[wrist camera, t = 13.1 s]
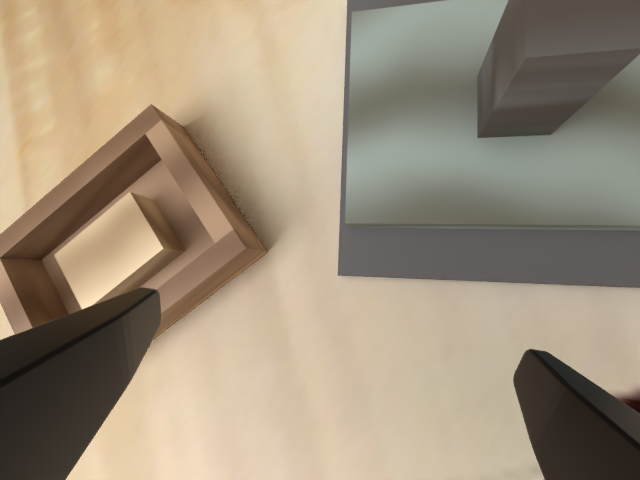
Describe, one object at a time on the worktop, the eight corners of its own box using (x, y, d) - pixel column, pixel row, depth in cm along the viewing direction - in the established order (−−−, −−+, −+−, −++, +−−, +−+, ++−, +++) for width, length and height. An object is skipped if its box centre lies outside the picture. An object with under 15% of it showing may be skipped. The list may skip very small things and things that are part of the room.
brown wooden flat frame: (267, 252, 20) (245, 248, 17) (92, 385, 22) (45, 402, 19) (183, 126, 22) (151, 104, 19) (29, 256, 24) (-22, 253, 21)
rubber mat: (690, 289, 16) (710, 290, 15) (340, 275, 19) (337, 275, 18) (670, -35, 17) (686, -54, 16) (350, 5, 21) (347, -8, 20)
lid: (691, 231, 15) (971, 188, 8) (349, 227, 18) (318, 195, 11) (676, -4, 16) (910, -235, 9) (354, 32, 19) (330, -117, 12)
